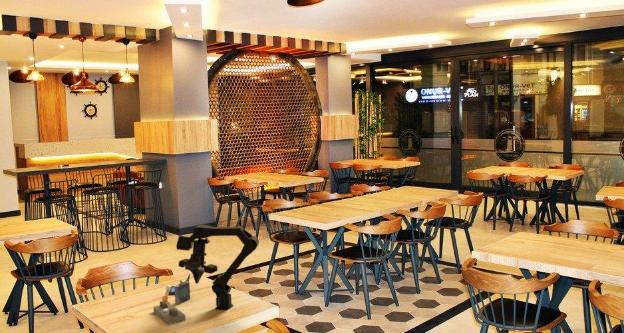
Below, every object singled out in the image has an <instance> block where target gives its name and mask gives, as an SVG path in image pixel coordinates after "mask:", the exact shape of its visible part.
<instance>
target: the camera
mask: <svg viewBox="0 0 624 333" xmlns="http://www.w3.org/2000/svg"><path fill="white" fill-rule="evenodd" d="M190 279H191V274H190V273H189V274H188V276H187V277H186V280H185V281H188V282H190ZM170 286H171V285H170ZM174 286H175V285H172V286H171V290H170V291H169V294H168V296H175V288H174Z"/></svg>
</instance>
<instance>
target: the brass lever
mask: <svg viewBox="0 0 624 333" xmlns="http://www.w3.org/2000/svg"><path fill="white" fill-rule="evenodd" d="M161 301H164V302H165V303H166V304H167V306H168V307H169V309H170V311H171V313H172V311H174V309H173V308H172V306H171V305H170V304H171V303H170V302H169V296H168V297H167V296H165V295H163V296H162V297H161Z"/></svg>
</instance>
